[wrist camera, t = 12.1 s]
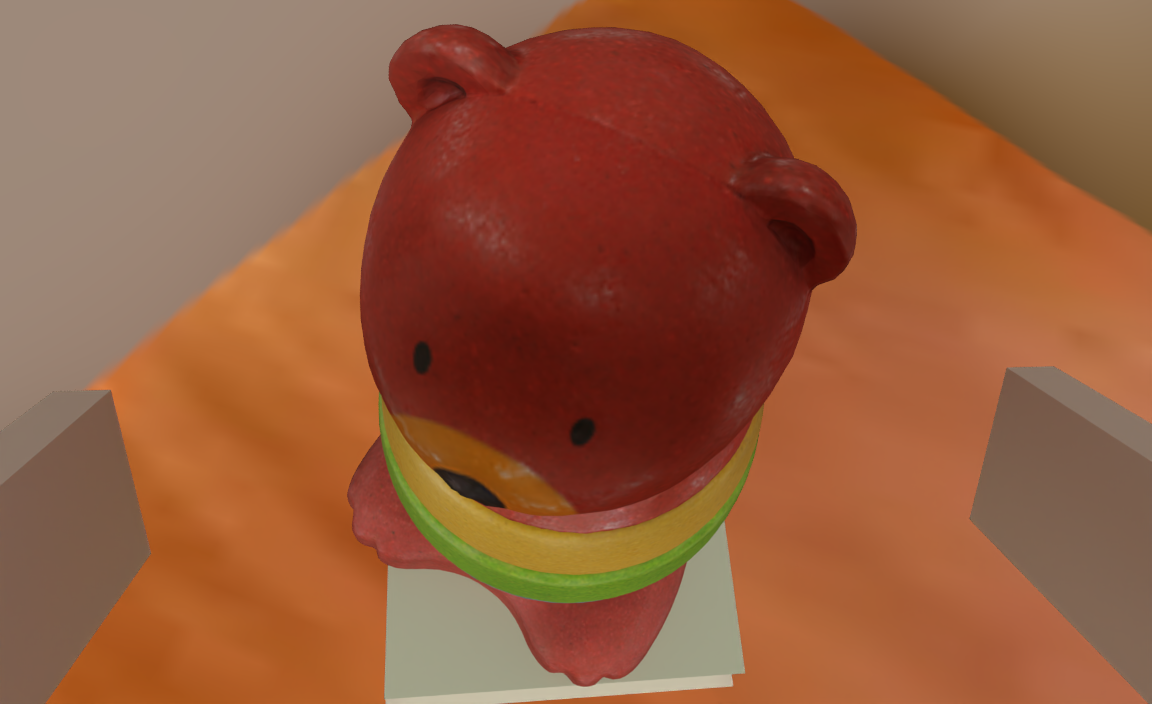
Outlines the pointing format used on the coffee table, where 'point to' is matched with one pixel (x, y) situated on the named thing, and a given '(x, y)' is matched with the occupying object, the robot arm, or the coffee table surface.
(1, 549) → the robot arm
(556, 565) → the stacking bear
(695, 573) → the tower base
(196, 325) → the coffee table surface
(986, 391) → the coffee table surface
